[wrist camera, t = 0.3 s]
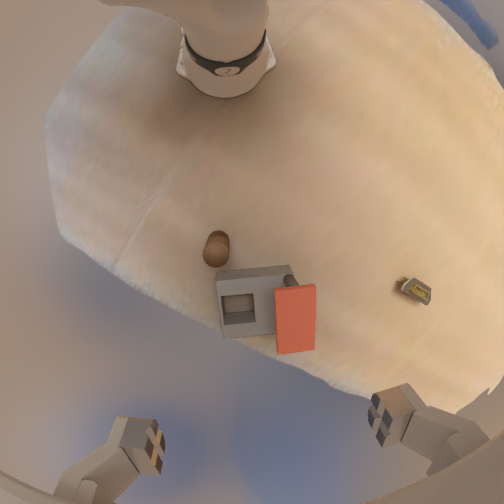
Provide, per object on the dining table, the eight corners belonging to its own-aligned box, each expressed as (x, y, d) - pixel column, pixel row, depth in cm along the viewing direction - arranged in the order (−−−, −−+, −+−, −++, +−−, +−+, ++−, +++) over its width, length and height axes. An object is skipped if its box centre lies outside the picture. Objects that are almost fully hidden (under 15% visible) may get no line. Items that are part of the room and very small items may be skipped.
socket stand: (216, 272, 55) (213, 297, 43) (298, 264, 56) (315, 286, 44) (223, 326, 58) (222, 360, 46) (299, 317, 59) (314, 349, 47)
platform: (395, 244, 57) (411, 252, 51) (440, 275, 60) (455, 284, 54) (369, 291, 59) (382, 303, 53) (416, 316, 63) (430, 328, 56)
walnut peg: (206, 231, 53) (201, 243, 43) (228, 229, 53) (227, 241, 44) (209, 252, 54) (204, 268, 44) (230, 250, 54) (230, 266, 45)
